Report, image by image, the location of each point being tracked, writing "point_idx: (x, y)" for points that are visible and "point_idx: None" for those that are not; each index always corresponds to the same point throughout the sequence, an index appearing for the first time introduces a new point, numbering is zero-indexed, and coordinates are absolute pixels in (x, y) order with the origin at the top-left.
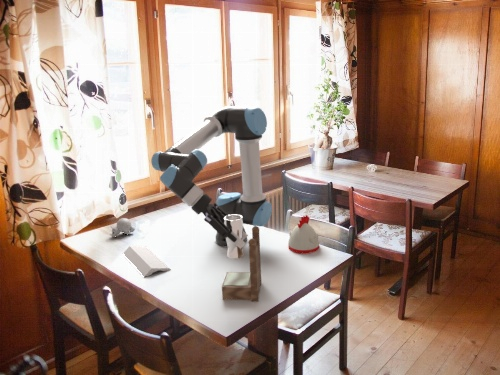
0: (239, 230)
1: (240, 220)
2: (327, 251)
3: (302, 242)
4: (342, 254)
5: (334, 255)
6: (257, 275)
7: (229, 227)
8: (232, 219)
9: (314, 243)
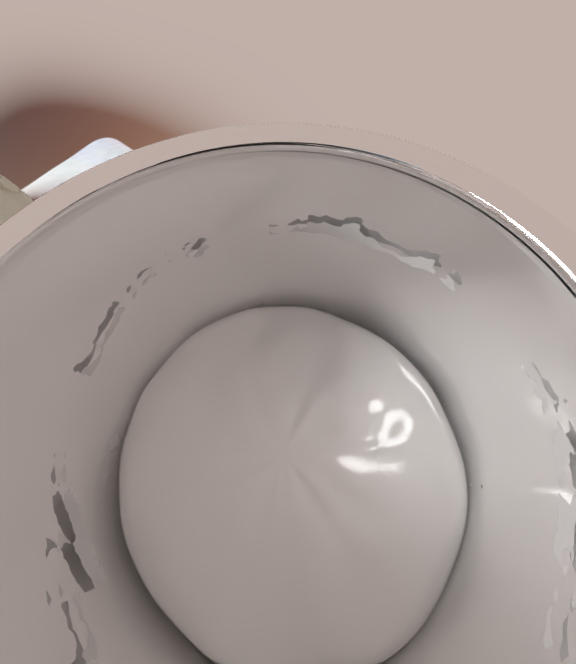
0: (414, 338)
1: (415, 187)
2: (56, 181)
3: (5, 216)
4: (91, 149)
5: (91, 166)
6: None
7: (536, 551)
8: (19, 487)
9: (19, 189)
